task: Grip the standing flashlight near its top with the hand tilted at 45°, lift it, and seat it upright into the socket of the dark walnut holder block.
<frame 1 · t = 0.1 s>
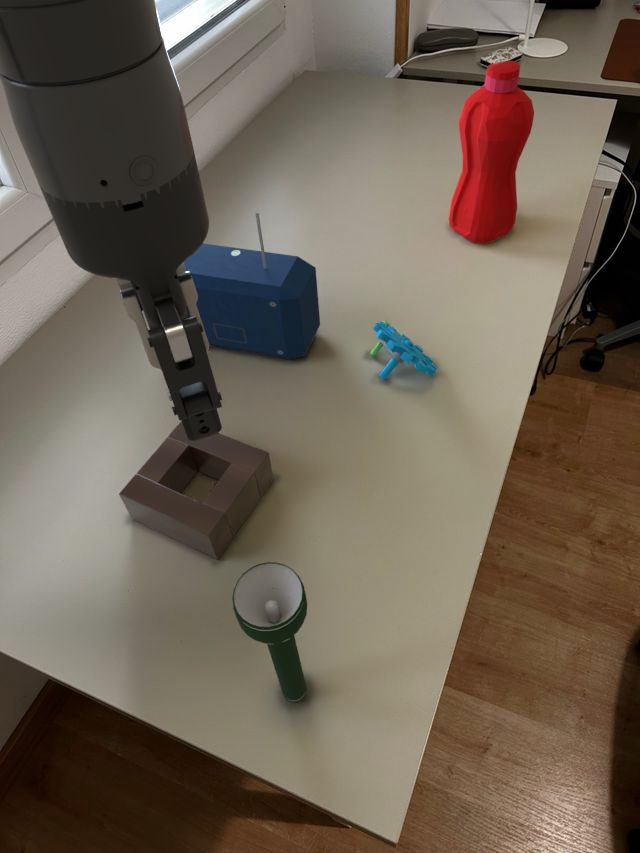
hand: (188, 388, 43), 30 cm above the table, tool pointing down, fingers open, 8 cm apart
radio: (245, 334, 92), on the table
holder: (204, 498, 74), on the table
water bottle: (476, 227, 106), on the table
flashlight: (295, 692, 60), on the table
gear: (402, 368, 86), on the table
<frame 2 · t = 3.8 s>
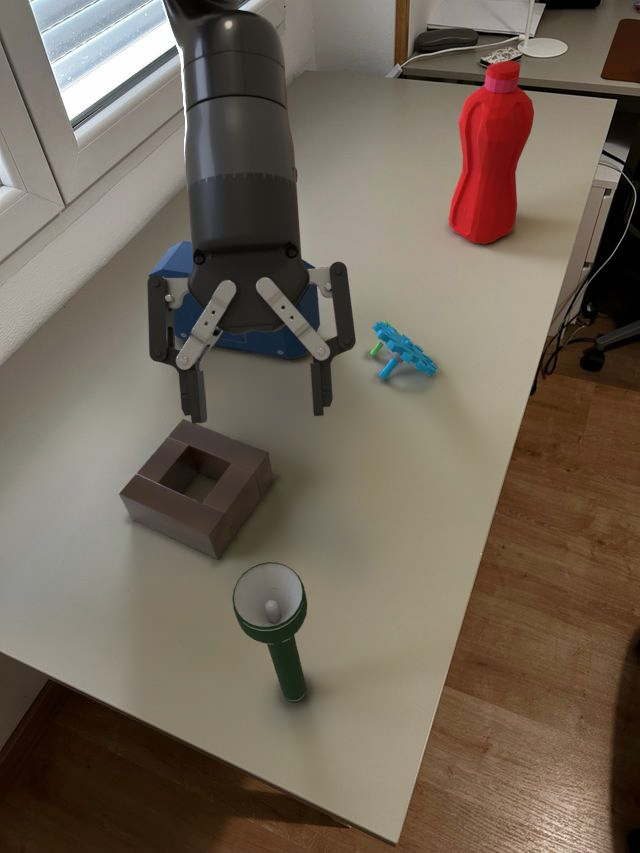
hand: (259, 419, 46), 27 cm above the table, tool tilted 45°, fingers open, 8 cm apart
nothing on the table moved.
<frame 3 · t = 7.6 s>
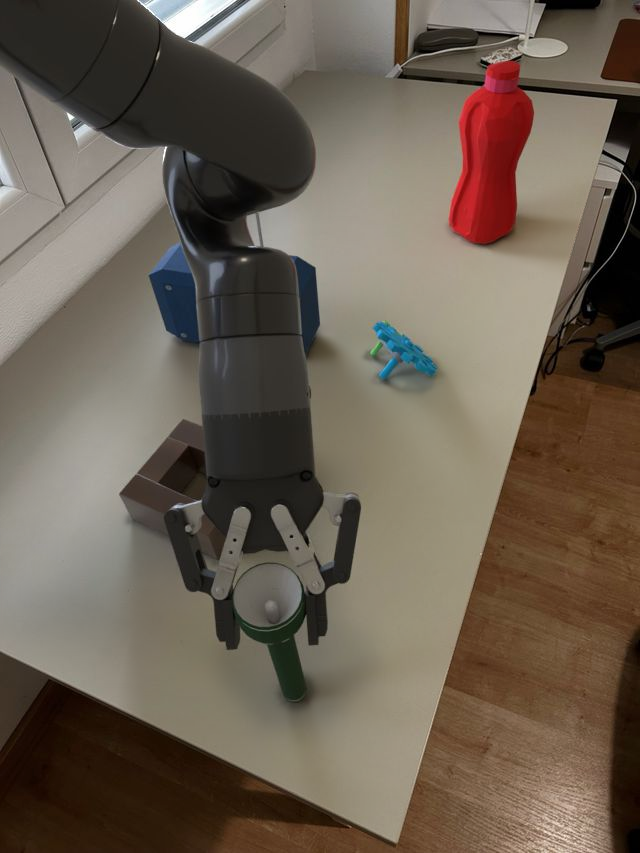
hand: (274, 642, 46), 16 cm above the table, tool tilted 45°, fingers closed on flashlight, 5 cm apart
flashlight: (295, 692, 60), on the table, touching gripper
everything else where it was.
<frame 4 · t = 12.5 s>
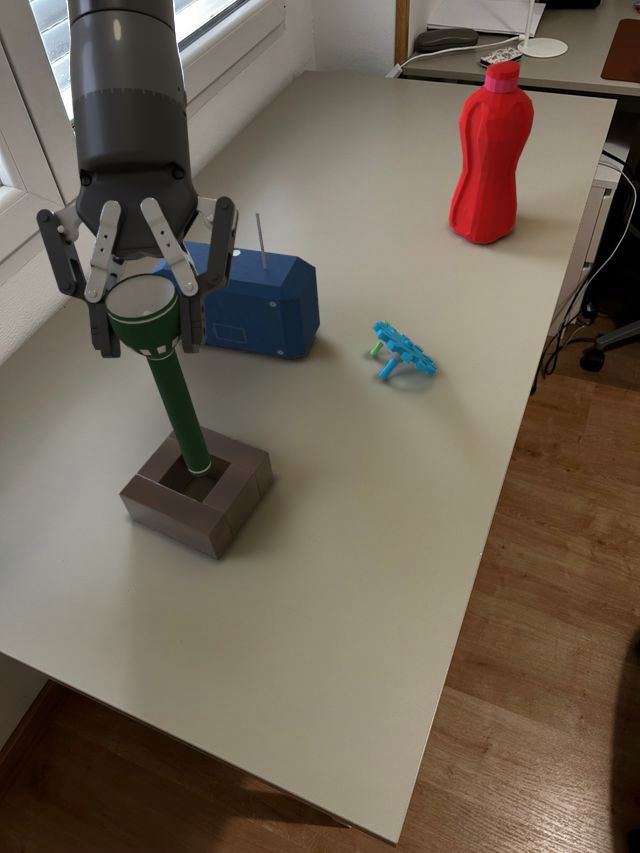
hand: (151, 354, 46), 30 cm above the table, tool tilted 45°, fingers closed on flashlight, 5 cm apart
flashlight: (201, 469, 59), point 14 cm above the table, touching gripper
everything else where it was.
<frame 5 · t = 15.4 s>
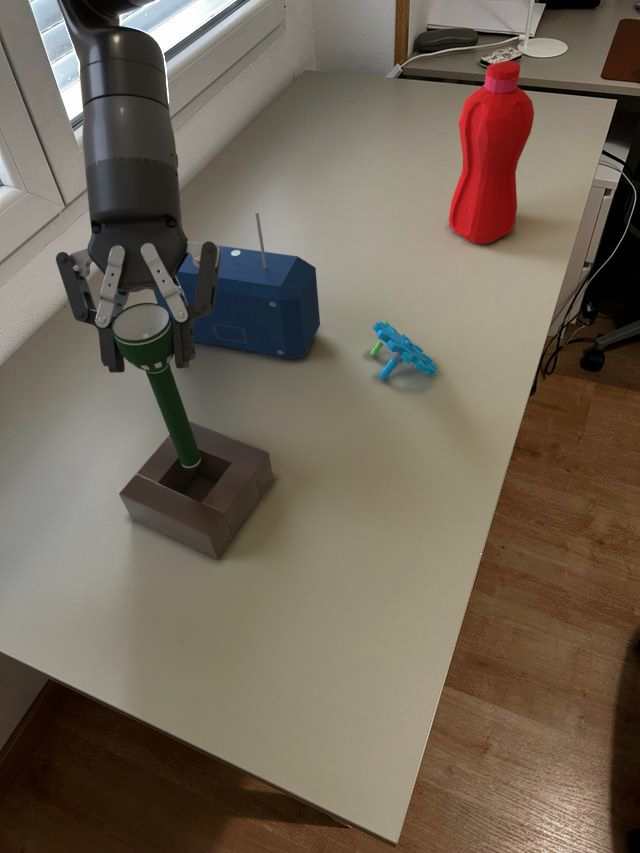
hand: (150, 369, 56), 22 cm above the table, tool tilted 45°, fingers closed on flashlight, 5 cm apart
flashlight: (192, 465, 69), point 6 cm above the table, touching gripper
everything else where it was.
when the fingers open (16 cm above the table, at t = 17.6 s): flashlight stays where it is, resting in holder.
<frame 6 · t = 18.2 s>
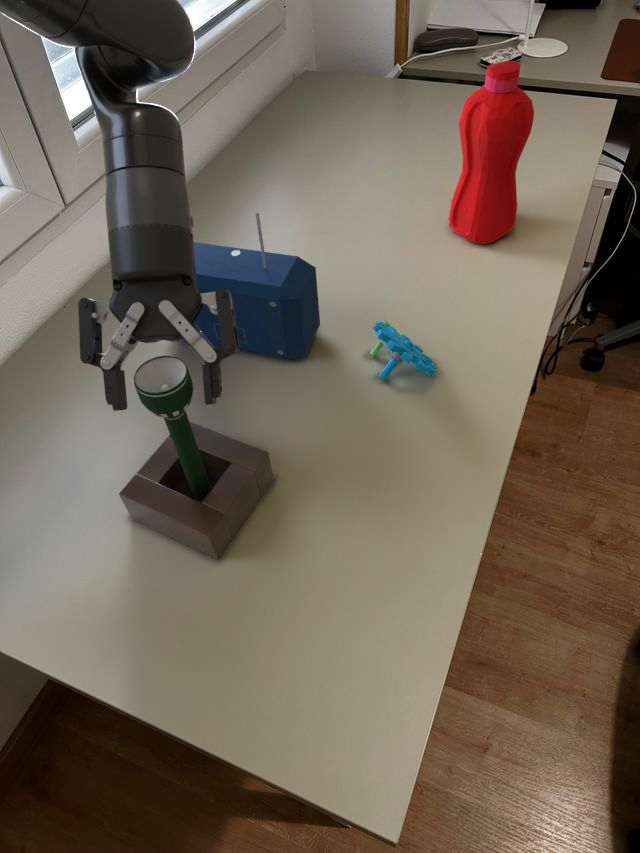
hand: (165, 407, 60), 17 cm above the table, tool tilted 45°, fingers open, 8 cm apart
flashlight: (204, 498, 74), resting in holder
everything else where it was.
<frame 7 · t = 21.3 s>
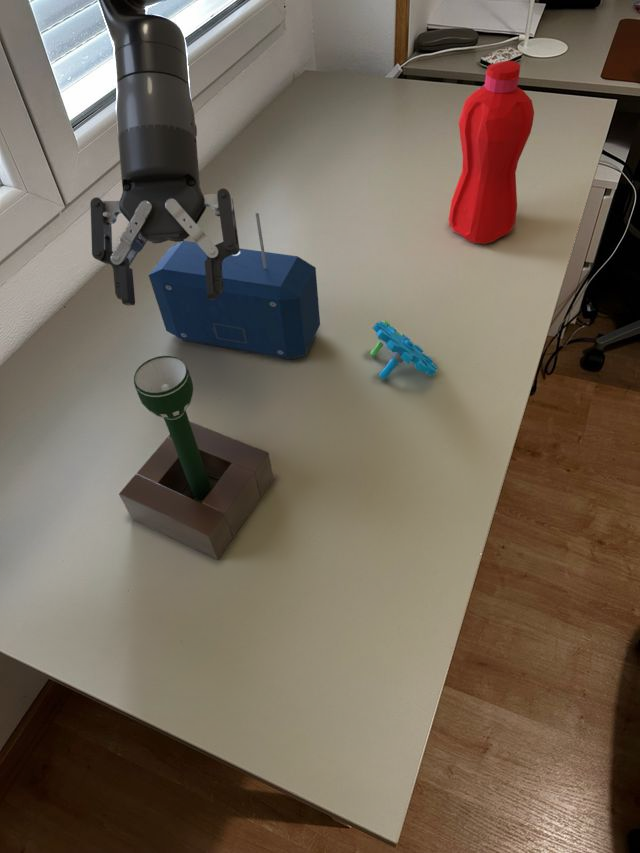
hand: (171, 302, 65), 21 cm above the table, tool tilted 45°, fingers open, 8 cm apart
nothing on the table moved.
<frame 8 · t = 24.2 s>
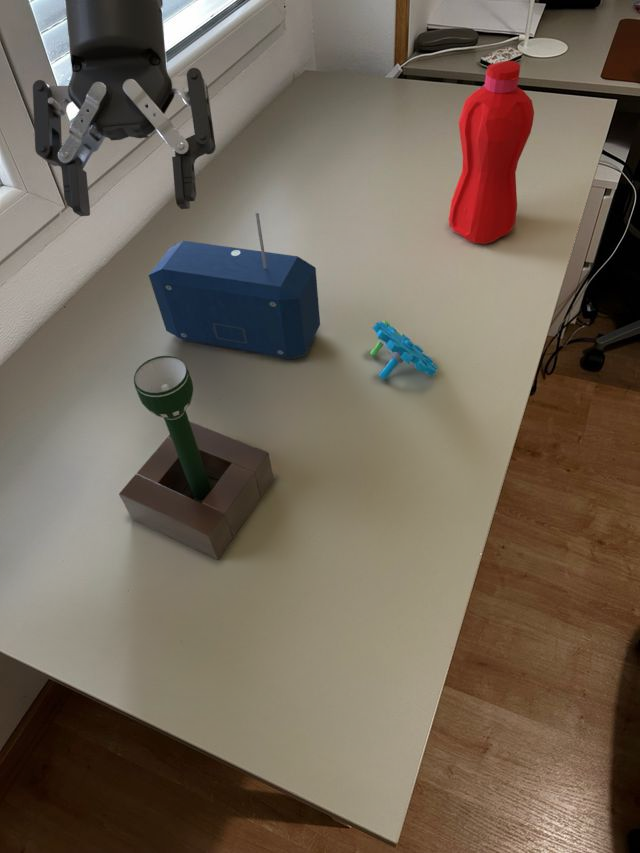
hand: (132, 210, 54), 33 cm above the table, tool tilted 45°, fingers open, 8 cm apart
nothing on the table moved.
at the end: flashlight 0.1 cm off-centre in the holder, point 0.0 cm above the holder's base; flashlight tilted 0°; the gripper is holding nothing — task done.
